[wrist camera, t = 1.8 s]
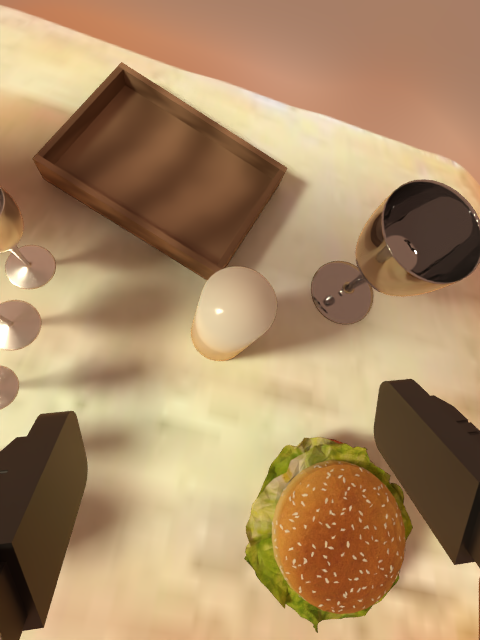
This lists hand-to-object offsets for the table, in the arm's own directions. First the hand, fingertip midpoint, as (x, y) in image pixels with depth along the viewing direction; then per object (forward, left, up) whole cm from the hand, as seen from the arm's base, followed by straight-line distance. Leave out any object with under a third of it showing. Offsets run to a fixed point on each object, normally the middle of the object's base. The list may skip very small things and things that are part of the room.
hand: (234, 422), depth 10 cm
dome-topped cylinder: (-1, +8, -27) cm, 28 cm away
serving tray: (-14, +19, -27) cm, 36 cm away
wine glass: (+8, +19, -27) cm, 34 cm away
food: (+15, -2, -27) cm, 31 cm away
